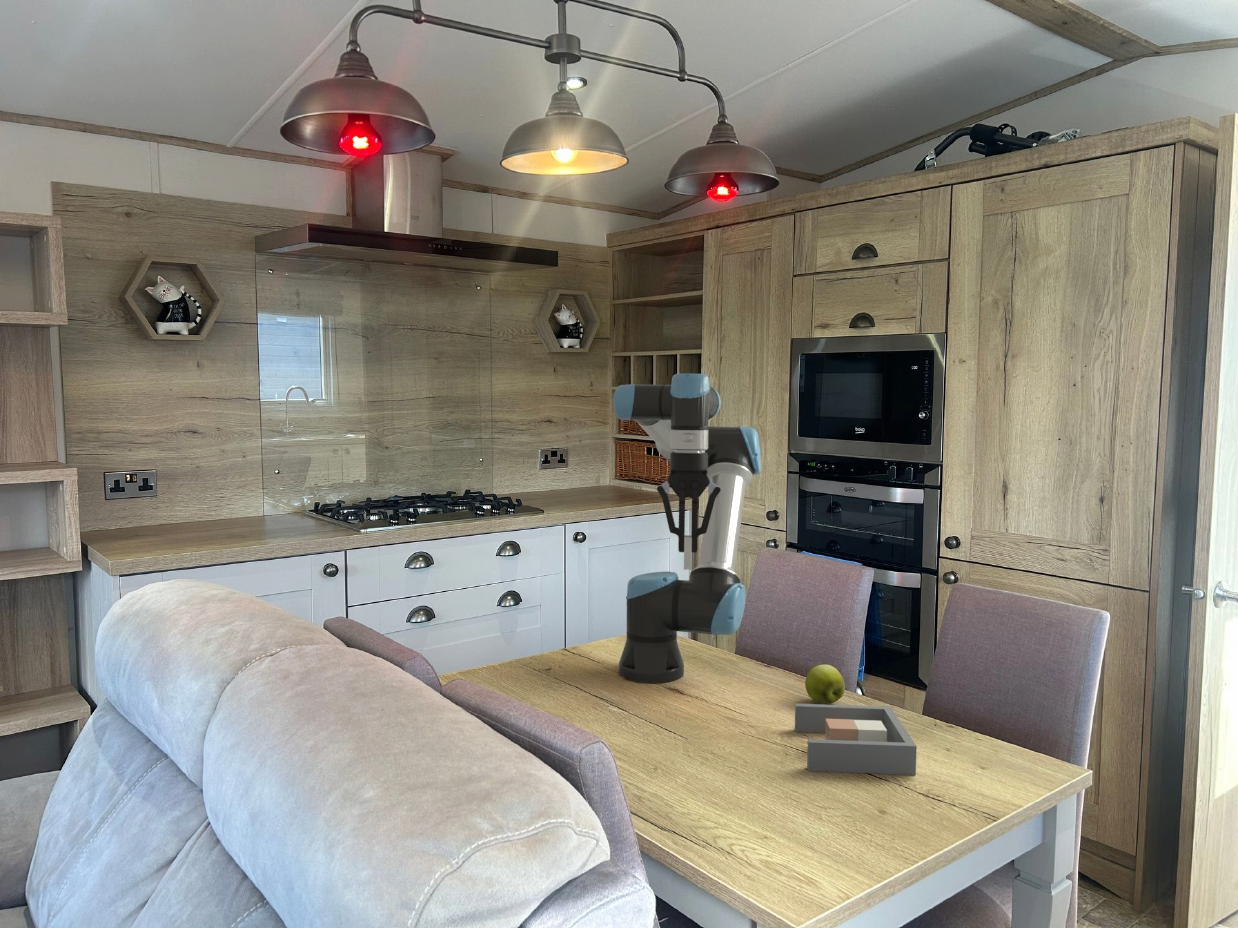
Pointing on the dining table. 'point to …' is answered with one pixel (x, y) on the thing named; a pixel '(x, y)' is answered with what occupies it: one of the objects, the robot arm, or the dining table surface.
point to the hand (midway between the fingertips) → (687, 568)
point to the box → (856, 754)
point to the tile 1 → (841, 729)
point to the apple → (825, 684)
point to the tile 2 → (871, 730)
